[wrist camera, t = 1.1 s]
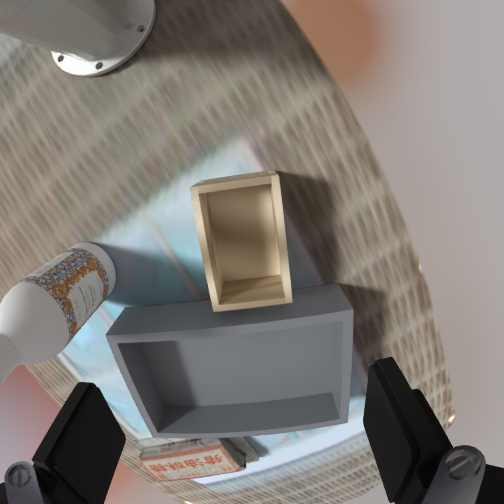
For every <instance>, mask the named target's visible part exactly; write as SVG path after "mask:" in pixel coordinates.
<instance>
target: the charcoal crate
mask: <svg viewBox="0 0 504 504" xmlns="http://www.w3.org/2000/svg"><path fill="white" fill-rule="evenodd" d="M291 291H292V302H293V303H286V304H278V305H270V306H263V307H254V308H246V309H237V310H229V311H219V312H213V307H212V303H211V299H210V300H201V301H191V302H181V303H171V304H161V305H150V306H138V307H126V308H124V310H123V311H122V312H121V314H120V315H119V317H118V318H117V319H116V321H115V322H114V324H113V325H112V326H111V328H110V329H109V331H108V332H107V334H106V338H107V340H108V343H109V345H110V348H111V350H112V353H113V355H114V358H115V360H116V362H117V365H118V367H119V369H120V372H121V374H122V376H123V378H124V381H125V383H126V385H127V387H128V389H129V391H130V393H131V396H132V398H133V400H134V402H135V404H136V406H137V408H138V410H139V412H140V414H141V416H142V418H143V420H144V422H145V423H146V425H147V427H148V429H149V431H150V433H151V435H152V436H153V438H228V437H245V436H258V435H269V434H278V433H287V432H294V431H302V430H308V429H315V428H321V427H327V426H332V425H338V424H343V423H348V413H349V401H350V387H351V372H352V351H353V311H354V309H353V308H352V306H351V304H350V303H349V301H348V299H347V297H346V296H345V294H344V292H343V291H342V289H341V287H340V286H339V284H338V283H334V284H327V285H320V286H313V287H306V288H299V289H292V290H291Z"/></svg>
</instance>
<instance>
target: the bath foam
mask: <svg viewBox="0 0 504 504" xmlns="http://www.w3.org/2000/svg"><path fill="white" fill-rule="evenodd" d="M115 282H116V272H115V267H114V264H113V262H112V260H111V258H110V257H109V255H108V254H107V253H106V252H105V251H104V250H103V249H102V248H100V247H99V246H97V245H95V244H92V243H79V244H76V245H74V246H72V247H71V248H69V249H68V250H66V251H64V252H63V253H61V254H60V255H58V256H57V257H55V258H54V259H52V260H50V261H49V262H47V263H46V264H44V265H43V266H42V267H40V268H39V269H37V270H36V271H34V272H33V273H31V274H30V275H28V276H27V277H26V278H24V279H23V280H21V281H20V282H18V283H17V284H16V285H14V286H13V288H11V289H10V291H9V292H8V293H7V294H6V295H5V297H4V298H3V300H2V302H1V304H0V385H1V384H2V383H3V382H4V380H5V379H6V378H7V377H8V376H9V375H10V373H11V372H12V371H13V370H14V369H15V367H16V366H17V365H26V364H37V363H42V362H45V361H47V360H50V359H51V358H53V357H55V356H56V355H57V354H59V353H60V352H61V351H62V350H63V349H64V348H65V347H66V346H67V345H68V343H69V342H70V341H71V340H72V338H73V337H74V336H75V335H76V334H77V332H78V331H79V330H80V329H81V327H82V326H83V325H84V324H85V323H86V321H87V320H88V319H89V318H90V317H91V316H92V314H93V313H94V312H95V311H96V310H97V309H98V307H99V306H100V305H101V304H102V303H103V302H104V300H105V299H106V298H107V297H108V296H109V294H110V293H111V292H112V290H113V288H114V286H115Z"/></svg>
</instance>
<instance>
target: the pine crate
mask: <svg viewBox="0 0 504 504" xmlns="http://www.w3.org/2000/svg"><path fill="white" fill-rule="evenodd" d="M190 192H191V198H192V204H193V210H194V215H195V221H196V227H197V232H198V237H199V243H200V248H201V253H202V258H203V263H204V269H205V274H206V278H207V283H208V288H209V293H210V298H211V303H212V307H213V312H219V311H229V310H237V309H246V308H254V307H263V306H270V305H278V304H286V303H293V302H292V291H291V281H290V271H289V261H288V251H287V242H286V233H285V224H284V215H283V206H282V198H281V190H280V182H279V175H278V174H277V173H276V172H275V171H274V170H271V171H263V172H255V173H248V174H241V175H234V176H227V177H220V178H214V179H207V180H201V181H199V182H198V183H196V184H195V185H193V186H192V187H190Z"/></svg>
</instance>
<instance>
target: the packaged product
mask: <svg viewBox="0 0 504 504" xmlns="http://www.w3.org/2000/svg"><path fill="white" fill-rule="evenodd" d="M133 444H135V445H136V446H137V447H138V448H139V449H140V450H141V451H142V453H140V455H139V457H140V464H141V465H142V468H143V469H144V470H146V471H147V472H148V473H150V475H151V476H153V477H154V478H155V479H156V480H158V481H173V480H184V479H194V478H202V477H208V476H213V475H220V474H227V473H233V472H238V471H242V470H244V469H245V468H246V463H250V462H255V461H259V457H258V454H257V452H256V451H255V450H254V449H253V448H252V446H251V445H250V444H249V442H248V441H247V440H246V439H245V437H228V438H150V439H142V440H135V441H134V442H133Z"/></svg>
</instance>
